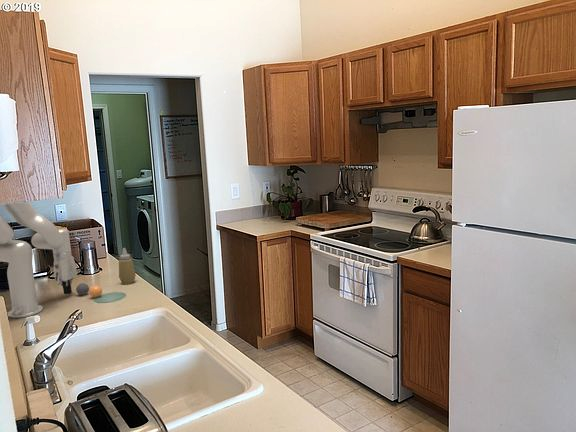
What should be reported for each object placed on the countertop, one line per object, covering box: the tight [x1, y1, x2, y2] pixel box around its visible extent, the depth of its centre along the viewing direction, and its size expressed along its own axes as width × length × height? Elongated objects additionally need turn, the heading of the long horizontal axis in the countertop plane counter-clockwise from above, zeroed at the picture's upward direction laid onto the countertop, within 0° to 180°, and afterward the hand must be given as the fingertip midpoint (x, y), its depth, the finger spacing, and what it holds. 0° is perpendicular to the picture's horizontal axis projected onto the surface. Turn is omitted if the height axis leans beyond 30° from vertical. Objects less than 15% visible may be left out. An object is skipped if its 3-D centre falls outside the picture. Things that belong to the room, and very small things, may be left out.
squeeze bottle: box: [118, 247, 136, 285], centre depth 237 cm, size 8×8×18 cm
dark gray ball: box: [75, 282, 90, 296], centre depth 222 cm, size 6×6×6 cm
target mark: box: [93, 291, 127, 304], centre depth 216 cm, size 14×14×1 cm
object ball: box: [88, 285, 103, 299], centre depth 217 cm, size 6×6×6 cm
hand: (67, 293), depth 221 cm, fingers closed
